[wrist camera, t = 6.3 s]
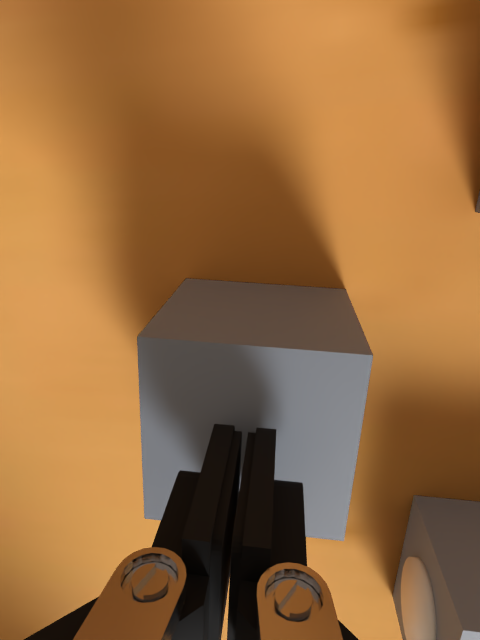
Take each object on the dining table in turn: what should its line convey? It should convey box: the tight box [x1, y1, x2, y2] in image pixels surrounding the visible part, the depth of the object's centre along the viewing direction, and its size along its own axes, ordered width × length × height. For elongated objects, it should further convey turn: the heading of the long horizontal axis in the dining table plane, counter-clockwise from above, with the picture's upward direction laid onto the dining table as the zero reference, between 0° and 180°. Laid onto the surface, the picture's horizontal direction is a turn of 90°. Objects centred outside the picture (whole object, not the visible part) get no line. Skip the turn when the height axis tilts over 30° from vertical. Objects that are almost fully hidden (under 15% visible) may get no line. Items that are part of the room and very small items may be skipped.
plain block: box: [137, 278, 373, 541], centre depth 15 cm, size 6×6×6 cm
